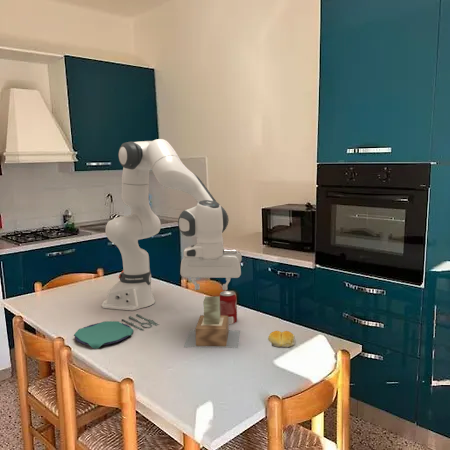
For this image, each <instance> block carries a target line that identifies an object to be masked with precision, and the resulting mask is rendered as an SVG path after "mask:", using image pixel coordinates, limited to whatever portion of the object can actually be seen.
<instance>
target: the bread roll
mask: <svg viewBox="0 0 450 450" xmlns="http://www.w3.org/2000/svg"><path fill="white" fill-rule="evenodd" d="M267 340H268V342H270V343H271V345H272V346H273V347H277V348H279V347H282V348H289V347H293V346H295V343H296V336H295V335H294V334H293V332H291V331H288V330H284V331H280V330H274V331H272V332H271V333H270V334H268V337H267Z"/></svg>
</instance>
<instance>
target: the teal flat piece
mask: <svg viewBox="0 0 450 450" xmlns="http://www.w3.org/2000/svg"><path fill="white" fill-rule="evenodd" d="M135 316H136V318H139V319H141V320H143V319H144V321H146V322H141V321H140V320H138V319H136V318H135V317H133V316H131V315H130V316H128V319H129V320H130V319H131V320H133V321H135V322H137V323H139V324H140V326H141V327H140V326H138V325H136V324H135V323H134V322H132V321H128V320H125V319H124V318H123V319H121V321H115V320H113V321H112V320H110V321H108V320H106V321H101V322H97V323H94V324H90V325H87V326H85V327H82V328H78V330H77V331H76V332H75V333H74V334H73V336H74V339H75V340H76V341H77V342H78V343H79V344H80V343H81V344H83V345H87V346H90V347H91V348H92V349H94V350H97V349H100V348H101V346H105V345H111V344H115V343H119V342H121V341H124V340H126V339H127V338H128V337H132V335H133V333H134V328H135V329H137V330H140V331H145V329H150V328H153V326H155V327H157V326H160V324H159V323H158V322H156V321H154V320H153V319H149V318H145V317H144V316H142V315H141V314H139V313H136V314H135ZM123 322H125V323H123ZM126 323H127V324H126ZM143 325H148V326H143ZM149 326H150V327H149ZM132 327H133V328H132Z"/></svg>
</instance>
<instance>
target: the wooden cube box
mask: <svg viewBox="0 0 450 450" xmlns="http://www.w3.org/2000/svg"><path fill="white" fill-rule="evenodd" d="M229 325H230V324H229V319H228V316H221V315H220V322H219V324H204V314H202V315H201V314H200V316H199V318H198V320H197V323H196V327H195V329H194V330H196V346H226V344H227V339H228V333H229V330H230V327H229Z"/></svg>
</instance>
